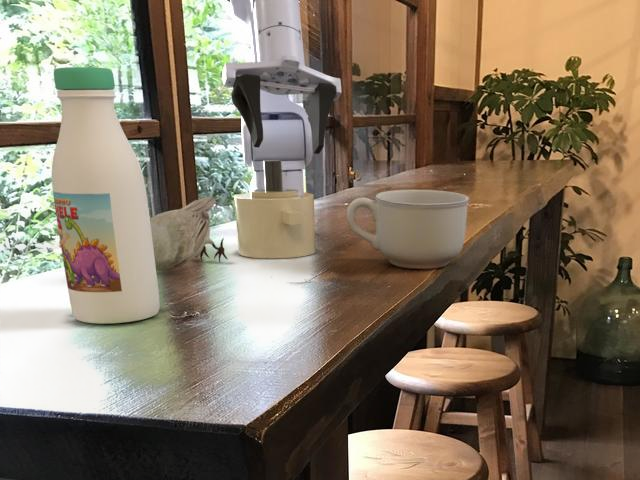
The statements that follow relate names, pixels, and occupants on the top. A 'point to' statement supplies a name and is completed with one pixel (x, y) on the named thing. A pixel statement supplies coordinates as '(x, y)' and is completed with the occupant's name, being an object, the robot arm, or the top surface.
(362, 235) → the teacup
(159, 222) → the decorative bird
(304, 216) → the kettle
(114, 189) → the milk bottle
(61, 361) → the top surface
